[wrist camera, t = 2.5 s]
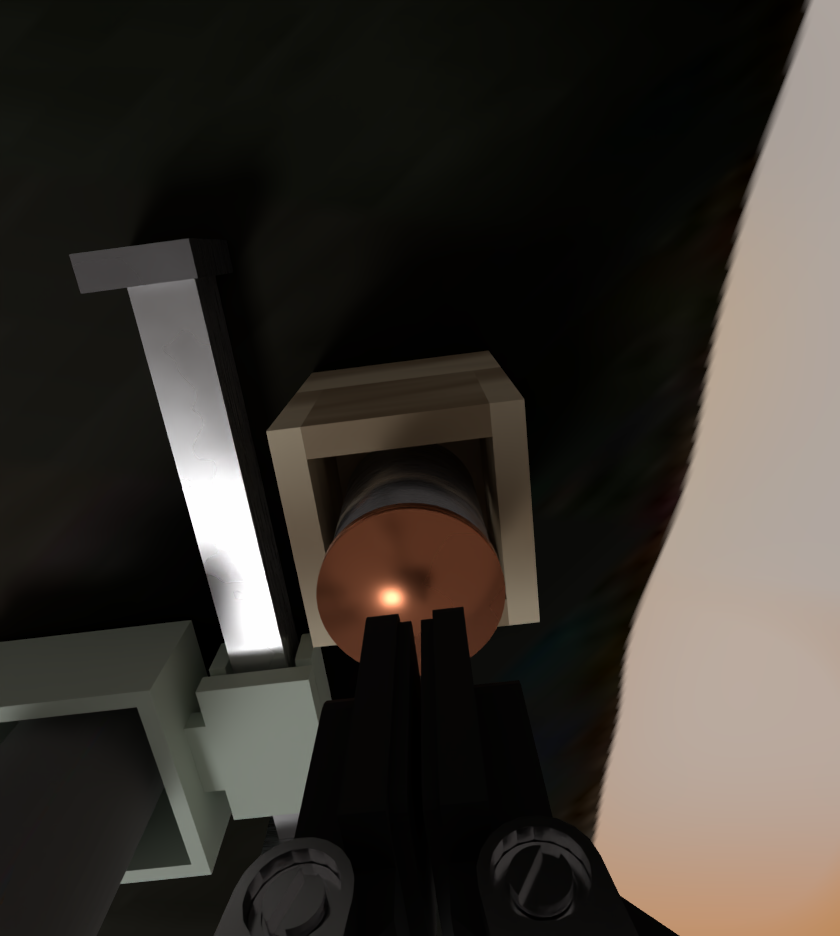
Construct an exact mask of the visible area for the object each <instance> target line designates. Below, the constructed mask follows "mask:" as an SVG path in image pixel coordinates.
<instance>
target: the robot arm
mask: <svg viewBox="0 0 840 936" xmlns="http://www.w3.org/2000/svg"><path fill="white" fill-rule="evenodd" d="M432 618H433V619H424V620H421V679H420V673H419V666H418V659H417V653H416V646H415V639H414V632H413V626H412V622H411V621H405V622H400V618H399V615H398V614H391V615H382V616H373V617H367V618H366V622H365V629H364V636H363V643H362V650H361V656H360V663H359V670H358V677H357V684H356V691H355V697H354V698H347V699H337V700H328V701H326V702H325V703H324V704H323V707H322V711H321V715H320V720H319V725H318V729H317V734H316V739H315V743H314V748H313V752H312V757H311V762H310V766H309V771H308V776H307V780H306V785H305V790H304V794H303V799H302V804H301V808H300V813H299V818H298V822H297V827H296V831H295V836H294V839H292V840H290V841H287V842H284V843H282V844H279V845H276V846H275V847H273V848H272V849H270V850H269V851H267V852H266V853H264V854H263V855H261V856H260V857H258V859H257V860H256V861H255V862H254V863H253V864H252V865H251V866H250V867H249V868H248V869H247V870H246V871H245V872H244V874H243V876H242V877H241V879H240V881H239V882H238V884H237V886H236V887H235V889H234V891H233V893H232V896H231V898H230V900H229V902H228V905H227V907H226V909H225V911H224V914H223V916H222V918H221V921H220V923H219V925H218V927H217V930H216V932H215V934H214V936H437V924H436V898H437V904H438V910H439V916H440V923H441V929H442V935H443V936H679V935H677V934H676V933H674V932H673V931H671V930H670V929H668V928H667V927H666V926H664V925H662V924H661V923H660V922H658V921H657V920H655V919H654V918H652V917H651V916H649V915H647V914H646V913H645V912H643V911H642V910H640V909H639V908H637V907H636V906H634V905H633V904H631V903H630V902H629V901H627V900H626V899H624V898H623V897H621V896H620V895H619V893H618V891H617V889H616V887H615V885H614V882H613V880H612V878H611V876H610V874H609V872H608V870H607V868H606V866H605V864H604V862H603V860H602V857H601V855H600V854H599V852H598V851H597V849H596V848H595V846H594V845H593V843H592V842H591V840H590V839H589V838H588V837H587V836H585V835H584V834H583V833H582V832H581V831H579V830H578V829H577V828H576V827H575V826H572V825H570V824H568V823H566V822H564V821H562V820H560V819H557V818H553V817H552V813H551V809H550V805H549V801H548V796H547V792H546V788H545V784H544V780H543V775H542V771H541V767H540V763H539V759H538V755H537V750H536V746H535V742H534V738H533V734H532V730H531V725H530V721H529V717H528V713H527V709H526V705H525V700H524V696H523V692H522V688H521V684H520V682H519V680H518V681H509V682H499V683H490V684H480V685H473V678H472V670H471V662H470V654H469V646H468V639H467V631H466V623H465V615H464V608H463V607H455V608H446V609H436V610H432Z"/></svg>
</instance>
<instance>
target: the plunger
mask: <svg viewBox="0 0 840 936" xmlns="http://www.w3.org/2000/svg"><path fill="white" fill-rule="evenodd" d="M316 599H317V607H318V611H319V614H320V618H321V620H322V623H323V625H324V627H325V629H326V631H327V632H328V634H329V635H330V637H331V638H332V640H333V641H334V642H335V643H336V644H337V646H338V647H339V648H341V649H342V650H343V651H344V652H345V653H346V654H347V655H349V656H350V657H351V658H353V659H354V660H356V661H358V662H359V663H360V656H361V650H362V643H363V636H364V629H365V622H366V618H367V617H373V616H382V615H391V614H398V615H399V618H400V622H405V621H411V622H412V626H413V632H414V639H415V646H416V653H417V659H418V666H419V673H420V675H421V620H424V619H433V618H432V610H436V609H446V608H455V607H463V608H464V615H465V623H466V631H467V639H468V646H469V654H470V657H471V656H473V655H474V654H475V653H477V652H478V651H479V650H480V649H481V648H482V647H483V646H484V645H485V644H486V643H487V641H488V640H489V639H490V638H491V636H492V635H493V633H494V632H495V630H496V628H497V626H498V624H499V622H500V620H501V617H502V613H503V610H504V605H505V582H504V576H503V572H502V569H501V565H500V562H499V559H498V556H497V554H496V552H495V550H494V548H493V546H492V544H491V543H490V542H489V539H488V535H487V531H486V527H485V523H484V520H483V516H482V512H481V508H480V504H479V501H478V497H477V493H476V489H475V485H474V482H473V479H472V477H471V475H470V473H469V470H468V469H467V468H466V466H465V465H464V463H463V462H462V461H461V460H460V459H459V458H458V457H457V456H456V455H455V454H454V453H453V452H451V451H450V450H448V449H447V448H445V447H443V446H441V445H439V444H429V445H421V446H413V447H405V448H397V449H389V450H380V451H372V452H370V453H369V454H368V455H366V456H365V457H364V458H363V459H362V460H361V461H360V462H359V464H358V465H357V467H356V468H355V470H354V471H353V473H352V475H351V477H350V480H349V483H348V487H347V490H346V494H345V498H344V502H343V505H342V509H341V513H340V517H339V520H338V524H337V528H336V532H335V535H334V539H333V542H332V543H331V545H330V546H329V548H328V550H327V552H326V554H325V556H324V559H323V562H322V565H321V568H320V572H319V576H318V581H317V588H316Z"/></svg>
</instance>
